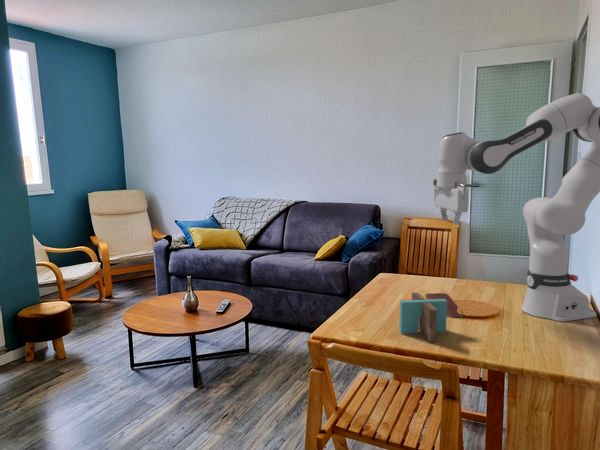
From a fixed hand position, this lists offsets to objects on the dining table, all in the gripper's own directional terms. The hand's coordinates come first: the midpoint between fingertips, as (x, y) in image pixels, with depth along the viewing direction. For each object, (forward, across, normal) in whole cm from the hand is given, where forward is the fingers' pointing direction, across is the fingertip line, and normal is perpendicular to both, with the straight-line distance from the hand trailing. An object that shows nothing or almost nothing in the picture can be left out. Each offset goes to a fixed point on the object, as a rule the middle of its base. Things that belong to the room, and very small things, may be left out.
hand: (449, 222), depth 146 cm
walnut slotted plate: (+31, -18, +15) cm, 39 cm away
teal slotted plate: (+31, -18, +15) cm, 39 cm away
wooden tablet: (+32, +5, -1) cm, 32 cm away
